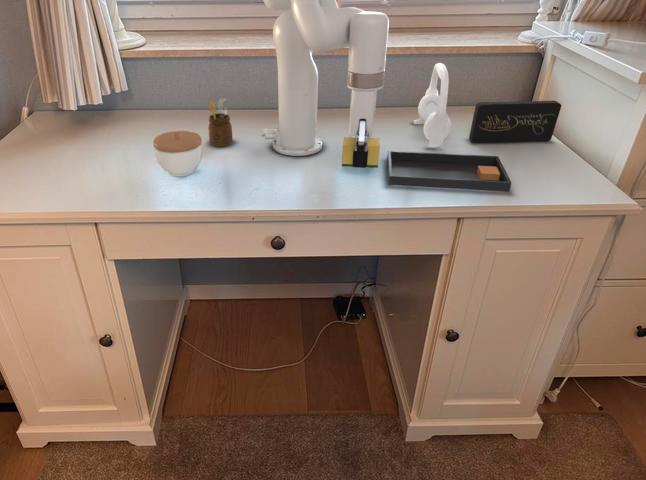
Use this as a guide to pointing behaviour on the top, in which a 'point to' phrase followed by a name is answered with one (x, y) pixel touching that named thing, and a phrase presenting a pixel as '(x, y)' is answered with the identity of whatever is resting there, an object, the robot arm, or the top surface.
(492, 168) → the orange square block
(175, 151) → the trinket box
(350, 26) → the robot arm
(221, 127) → the utensil holder
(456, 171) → the black shallow rectangular tray
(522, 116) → the nameplate
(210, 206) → the top surface
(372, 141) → the sponge
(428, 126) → the headset
